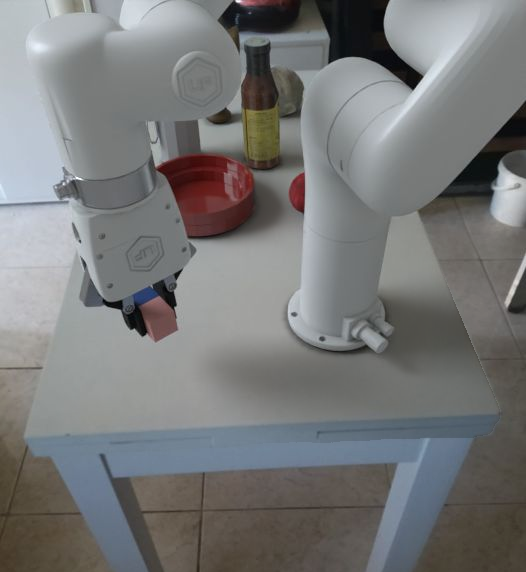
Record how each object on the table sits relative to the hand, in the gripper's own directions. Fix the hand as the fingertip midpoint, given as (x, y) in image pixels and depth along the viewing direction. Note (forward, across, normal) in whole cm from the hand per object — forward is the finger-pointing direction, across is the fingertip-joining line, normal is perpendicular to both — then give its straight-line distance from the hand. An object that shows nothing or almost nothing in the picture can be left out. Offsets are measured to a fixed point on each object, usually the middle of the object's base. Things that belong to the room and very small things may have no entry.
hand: (152, 319), depth 64 cm
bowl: (+8, +22, +25) cm, 34 cm away
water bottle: (+9, +26, +39) cm, 48 cm away
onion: (+9, +34, +13) cm, 38 cm away
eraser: (0, 0, 0) cm, 0 cm away
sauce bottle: (+9, +38, +30) cm, 49 cm away
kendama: (+9, +41, +48) cm, 64 cm away
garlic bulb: (+9, +52, +43) cm, 68 cm away
